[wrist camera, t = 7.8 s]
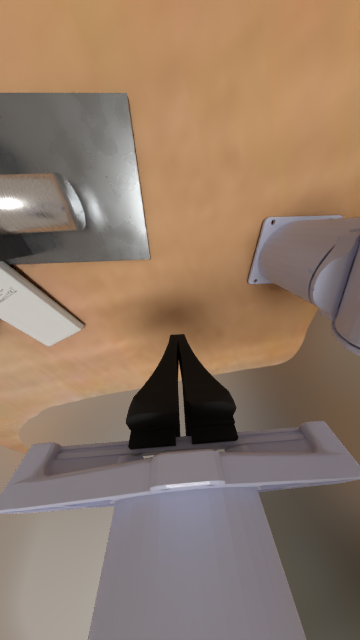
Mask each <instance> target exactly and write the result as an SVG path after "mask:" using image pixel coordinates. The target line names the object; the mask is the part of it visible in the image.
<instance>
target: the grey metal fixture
mask: <svg viewBox="0 0 360 640" xmlns="http://www.w3.org/2000/svg"><path fill="white" fill-rule="evenodd" d="M32 173H59V174H60V175H62V176H63V177H64V178H65V179H66V180H67V181H68V182H69V183H70V185H71V186H72V188H73V189H74V191H75V192H76V194H77V196H78V198H79V200H80V202H81V205H82V208H83V211H84V214H85V222H86V223H85V228H84V229H83V230H80V231H60V232H39V233H18V234H0V261H4V262H5V263H6V264H8V265H10V264H36V263H63V262H89V261H116V260H142V259H150V250H149V243H148V236H147V229H146V222H145V214H144V207H143V200H142V193H141V186H140V178H139V171H138V164H137V157H136V150H135V143H134V135H133V128H132V121H131V114H130V107H129V99H128V96H127V93H0V175H6V174H32Z"/></svg>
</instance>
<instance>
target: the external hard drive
mask: <svg viewBox="0 0 360 640" xmlns="http://www.w3.org/2000/svg"><path fill="white" fill-rule="evenodd" d="M0 319H2V320H3V321H5V322H7V323H9V324H10V325H12V326H14V327H15V328H17V329H19V330H21V331H22V332H24V333H26V334H27V335H29V336H31V337H32V338H34V339H36V340H38V341H39V342H41V343H43V344H44V345H46V346H48V347H49V346H51V345H53V344H55V343H57V342H59V341H61V340H63V339H65V338H67V337H69V336H71V335H72V334H75V333H76V332H78V331H80V330H81V329H82V328H83V327H84V324H82V323H81V322H80V321H79V320H77V319H76V318H75V317H74V316H72V315H71V314H70V313H69V312H67V311H66V310H65V309H63V308H62V307H61V306H60V305H58V304H57V303H56V302H55V301H53V300H52V299H51V298H50V297H48V296H47V295H46V294H45V293H43V292H42V291H41V290H40V289H38V288H37V287H36V286H35V285H33V284H32V283H31V282H29V281H28V280H27V279H26V278H24V277H23V276H22V275H21V274H19V273H18V272H17V271H16V270H14V269H13V268H12V267H10V266H9V265H8V264H6V263H5V262H4V261H0Z"/></svg>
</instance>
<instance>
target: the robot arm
mask: <svg viewBox="0 0 360 640" xmlns="http://www.w3.org/2000/svg"><path fill="white" fill-rule="evenodd" d="M272 220H273V224H272V225H271V221H272ZM255 279H256V281H255V282H254V280H255ZM248 283H249V284H268V283H274V284H276V285H278V286H280V287H282V288H284V289H285V290H287V291H289V292H291V293H293V294H295V295H297V296H298V297H300V298H302V299H304V300H306V301H308V302H309V303H311V304H313V305H315V306H317V307H318V308H319V309H320V315H322V316H324V317H326V318H327V319H329V320H331V321H332V324H331V333H332V335H333V337H334V338H335V340H336V341H337V342H338V343H339V344H340V345H342V346H343V347H344V348H346V349H347V350H349V351H351V352H353V353H354V354H356V355H359V356H360V217H355V218H343V216H342V215H328V216H293V217H268V218H266V219H265V220H264V222H263V225H262V229H261V233H260V237H259V240H258V244H257V248H256V252H255V255H254V259H253V263H252V267H251V270H250V274H249V278H248ZM178 364H180V370H181V377H182V384H183V398H184V413H185V428H186V436H184V437H180V421H179V401H178V400H179V399H178ZM235 410H236V405H235V403H234V400H233V398H232V397H231V395H230V393H229V391H228V390H227V389H226V388H224V387H223V386H222V385H221V384H220V383H219V382H218V381H217V380H216V379H215V378H214V377H213V376H212V375H211V374H210V373H209V372H208V371H207V370H206V369H205V368H204V367H203V365H202V364H201V363H200V362H199V360H198V359H197V357H196V356H195V354H194V353H193V351H192V350H191V348H190V346H189V344H188V342H187V340H186V337H185V335H184V334H179V335H171V336H170V339H169V343H168V346H167V348H166V351H165V353H164V355H163V357H162V359H161V361H160V363H159V365H158V366H157V368H156V370H155V371H154V373H153V374H152V375H151V377H150V378H149V380H148V381H147V382H146V383H145V385H144V386H143V387H142V388H141V389H140V391H139V392H138V393H137V394H136V395H135V396H134V397H133V400H132V402H131V405H130V407H129V410H128V414H127V419H126V424H127V426H128V427H129V429H130V430H131V434H130V440H129V441H122V442H110V443H97V444H84V445H72V446H61V445H59V444H57V443H38V444H33V445H32V446H31V448H30V449H29V451H28V452H27V454H26V456H25V457H24V459H23V460H22V462H21V464H20V465H19V467H18V468H17V470H16V471H15V473H14V474H13V476H12V478H11V479H10V481H9V482H8V484H7V485H6V487H5V489H4V490H3V492H2V493H1V495H0V514H1V513H34V512H45V511H56V510H68V509H81V508H93V507H106V506H115V507H114V512H113V517H112V522H111V528H110V532H109V538H108V542H107V547H106V552H105V557H104V562H103V567H102V572H101V577H100V582H99V587H98V592H97V597H96V602H95V607H94V612H93V617H92V622H91V626H90V631H89V636H88V640H306V637H305V634H304V631H303V628H302V625H301V622H300V619H299V616H298V613H297V610H296V607H295V604H294V601H293V597H292V594H291V591H290V588H289V585H288V582H287V579H286V576H285V573H284V570H283V567H282V564H281V561H280V558H279V555H278V552H277V549H276V546H275V543H274V540H273V537H272V534H271V531H270V527H269V524H268V522H267V518H266V515H265V512H264V509H263V506H262V503H261V500H260V497H259V494H258V492H263V491H272V490H281V489H290V488H299V487H307V486H317V485H327V484H337V483H342V482H348V481H353V480H359V479H360V466H359V465H358V463H357V462H356V461H355V460H354V458H353V457H352V456H351V454H350V453H349V452H348V451H347V449H346V448H345V447H344V446H343V444H342V443H341V442H340V441H339V439H338V438H337V437H336V436H335V434H334V433H333V432H332V430H331V429H330V428H329V427H328V426H327V424H326V423H325V422H324V421H316V422H306V423H303V424H301V425H300V427H295V428H283V429H271V430H258V431H246V432H237V431H236V428H235V425H234V423H235V421H234V418H233V414H234V412H235ZM218 449H225V452H218V451H217V450H218ZM148 455H154V457H151V458H145V459H144V458H143V456H148Z"/></svg>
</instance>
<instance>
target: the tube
mask: <svg viewBox="0 0 360 640" xmlns="http://www.w3.org/2000/svg"><path fill="white" fill-rule="evenodd" d="M85 223H86V222H85V214H84V211H83V208H82V205H81V202H80V200H79V198H78V196H77V194H76V192H75V191H74V189H73V188H72V186H71V185H70V183H69V182H68V181H67V180H66V179H65V178H64V177H63V176H62V175H60V174H59V173H32V174H6V175H0V234H18V233H39V232H60V231H80V230H83V229H84V228H85Z"/></svg>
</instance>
